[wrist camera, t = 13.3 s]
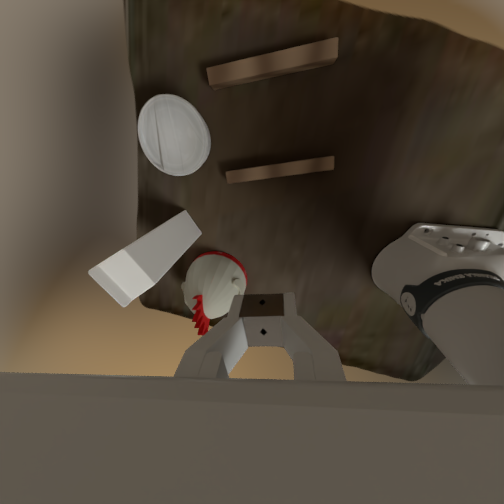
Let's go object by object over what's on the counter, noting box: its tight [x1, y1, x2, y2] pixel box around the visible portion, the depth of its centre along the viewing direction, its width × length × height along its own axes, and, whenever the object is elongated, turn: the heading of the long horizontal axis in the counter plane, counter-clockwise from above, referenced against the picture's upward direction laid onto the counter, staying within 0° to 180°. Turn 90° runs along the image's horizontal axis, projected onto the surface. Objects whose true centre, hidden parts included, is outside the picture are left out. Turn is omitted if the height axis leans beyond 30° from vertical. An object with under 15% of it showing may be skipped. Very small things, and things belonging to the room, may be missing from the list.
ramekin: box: [138, 94, 211, 176], centre depth 33 cm, size 11×11×5 cm
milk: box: [88, 210, 202, 307], centre depth 33 cm, size 6×6×22 cm
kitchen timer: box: [181, 251, 247, 336], centre depth 41 cm, size 14×14×15 cm
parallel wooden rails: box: [206, 37, 338, 184], centre depth 32 cm, size 18×16×2 cm
